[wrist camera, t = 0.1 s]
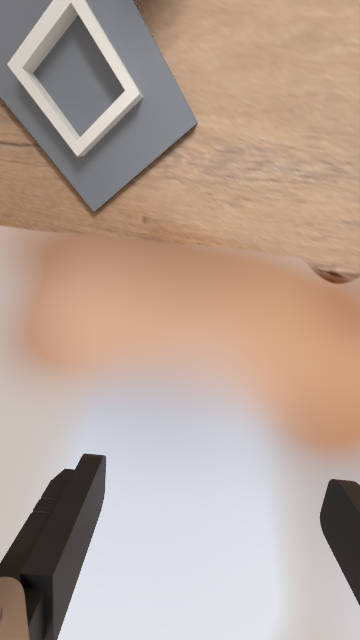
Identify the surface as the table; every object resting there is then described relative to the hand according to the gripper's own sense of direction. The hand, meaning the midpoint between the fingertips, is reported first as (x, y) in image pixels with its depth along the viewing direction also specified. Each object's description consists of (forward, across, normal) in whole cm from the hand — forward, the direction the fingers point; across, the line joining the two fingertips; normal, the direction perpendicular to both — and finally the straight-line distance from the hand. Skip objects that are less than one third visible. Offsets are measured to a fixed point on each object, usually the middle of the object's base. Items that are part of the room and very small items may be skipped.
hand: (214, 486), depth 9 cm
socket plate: (+24, +14, -25) cm, 37 cm away
